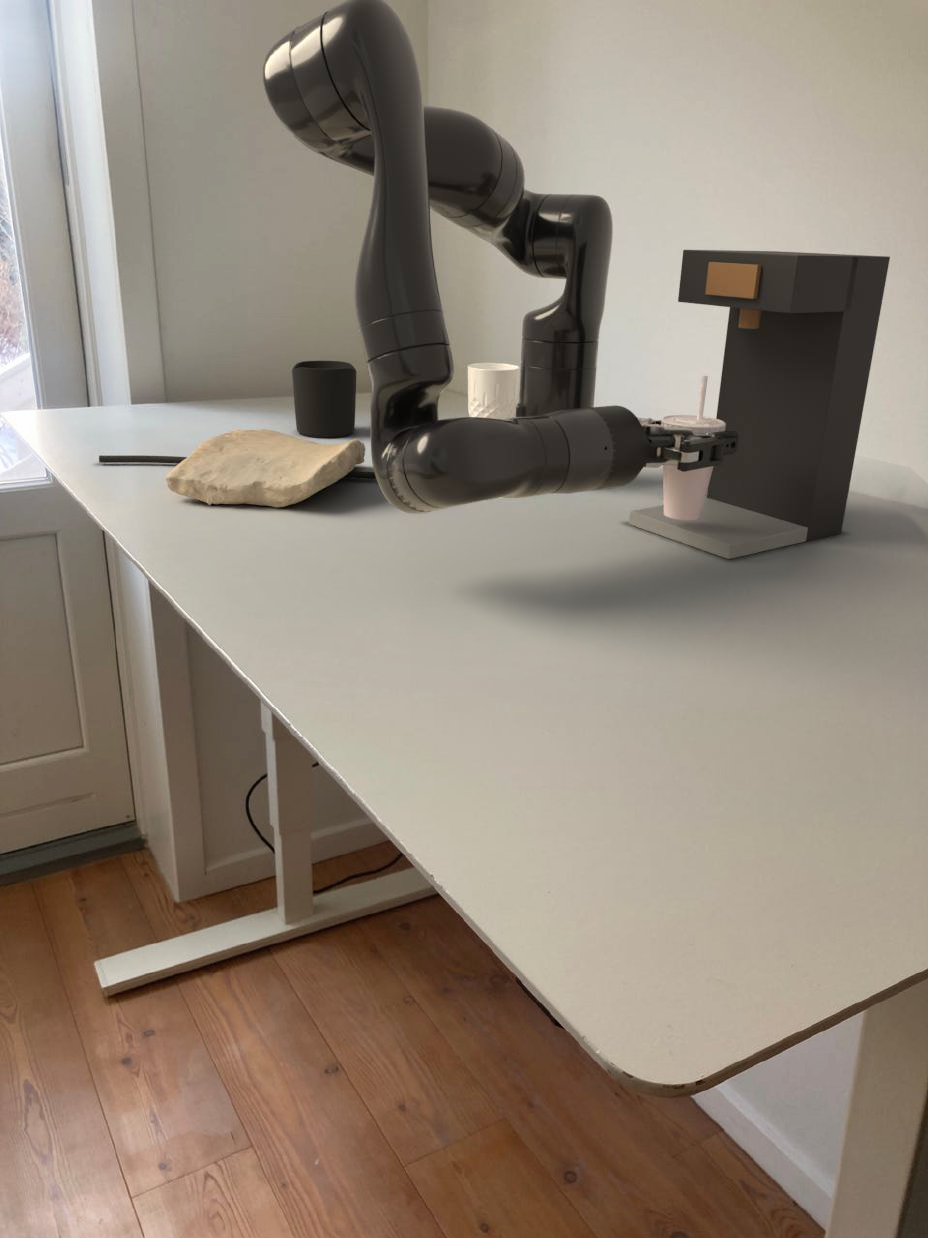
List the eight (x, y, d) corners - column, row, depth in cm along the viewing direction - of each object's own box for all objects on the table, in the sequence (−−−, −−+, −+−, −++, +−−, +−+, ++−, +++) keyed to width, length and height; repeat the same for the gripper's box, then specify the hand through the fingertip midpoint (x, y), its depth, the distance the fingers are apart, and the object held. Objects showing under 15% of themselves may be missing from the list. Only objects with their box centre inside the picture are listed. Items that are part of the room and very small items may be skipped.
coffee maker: (728, 559, 97) (769, 254, 87) (628, 524, 107) (654, 248, 97) (841, 533, 107) (890, 256, 96) (739, 503, 117) (773, 251, 107)
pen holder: (369, 431, 151) (369, 364, 147) (329, 441, 143) (328, 370, 140) (321, 424, 155) (320, 358, 152) (281, 433, 148) (278, 364, 144)
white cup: (500, 439, 148) (503, 371, 144) (455, 433, 152) (457, 366, 148) (525, 431, 154) (529, 366, 151) (482, 425, 158) (484, 361, 154)
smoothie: (714, 526, 98) (734, 382, 93) (649, 520, 99) (665, 377, 94) (712, 510, 104) (731, 373, 99) (651, 504, 105) (666, 369, 100)
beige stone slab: (389, 473, 129) (244, 448, 132) (394, 417, 126) (246, 392, 129) (327, 531, 107) (156, 500, 110) (331, 464, 104) (154, 434, 107)
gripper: (642, 422, 84) (770, 409, 93) (536, 396, 95) (660, 387, 104) (633, 508, 87) (759, 487, 96) (531, 473, 98) (652, 458, 107)
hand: (707, 435), depth 100 cm, fingers closed on smoothie, 6 cm apart
